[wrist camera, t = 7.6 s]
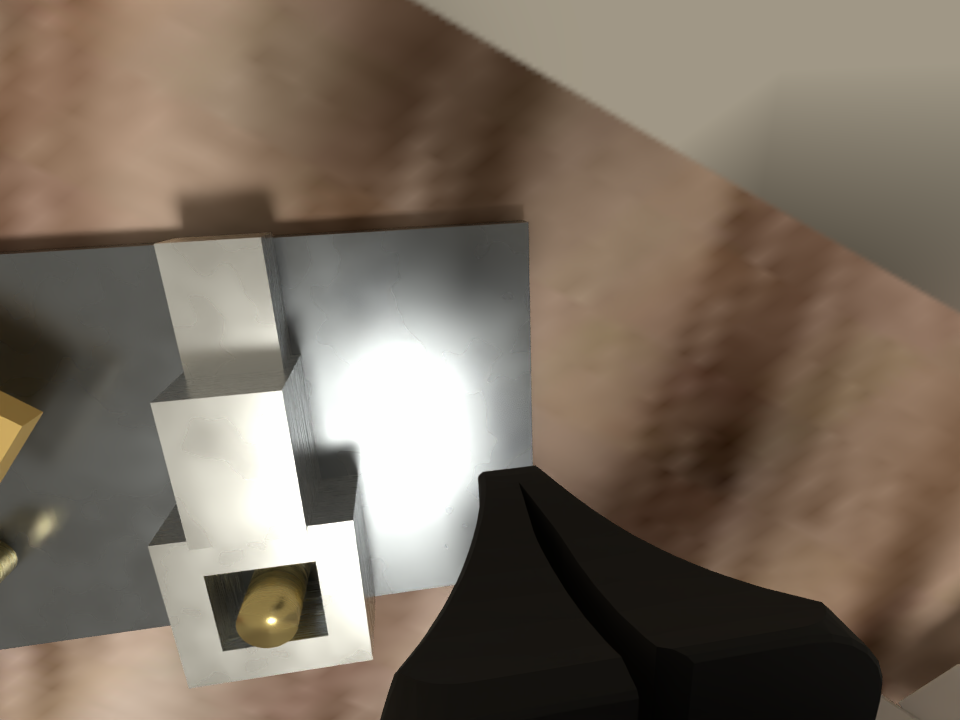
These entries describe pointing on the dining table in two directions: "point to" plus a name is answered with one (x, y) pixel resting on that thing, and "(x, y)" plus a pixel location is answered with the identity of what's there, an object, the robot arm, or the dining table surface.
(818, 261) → the dining table surface
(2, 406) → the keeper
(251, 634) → the cylinder
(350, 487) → the link
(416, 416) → the plate
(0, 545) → the post
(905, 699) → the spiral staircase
